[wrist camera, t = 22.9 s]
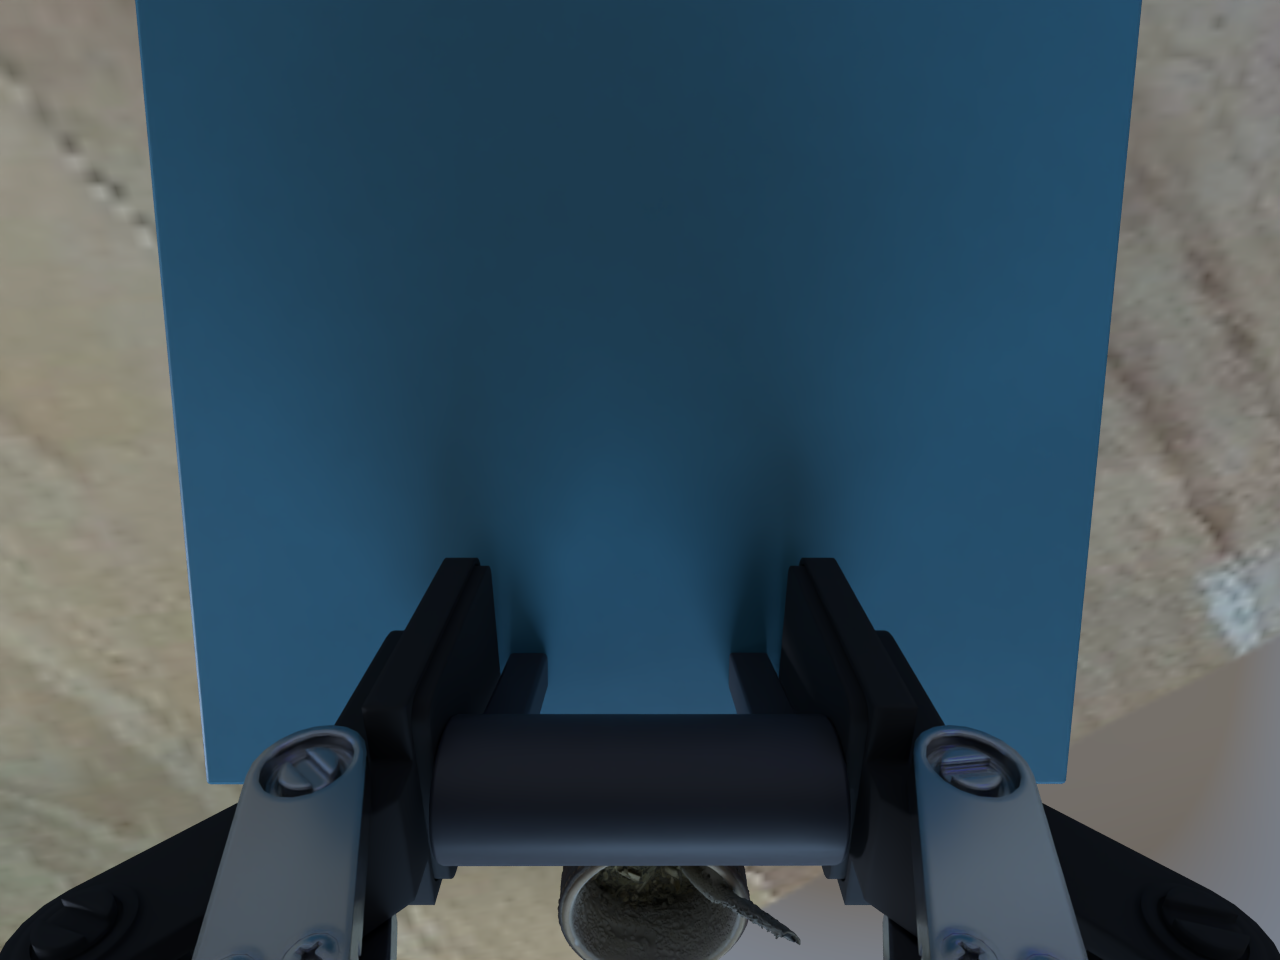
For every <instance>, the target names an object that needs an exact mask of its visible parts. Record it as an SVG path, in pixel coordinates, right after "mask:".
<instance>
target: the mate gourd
mask: <svg viewBox="0 0 1280 960" xmlns="http://www.w3.org/2000/svg"><path fill="white" fill-rule="evenodd" d="M560 890H561V893H560V899H559V902H558V903H559V906H558V912H559V913H558V918H559V924H560V926H561V930H562V932H563V935H564V936H565V939H566V940H567V942H568V944H569V946H571V947H572V949H573V950H574V951H575V952H576V953H577V954H578V955H579V956H580V957H581V958H582V959H583V960H718V959H720V958H721V957H722V956H723V955H725V954H726V953H727V952H728V951H729V950H730V949H731V948H732V947H733V946H734V945H735V943H736V942H737V941H738V940H739V938H740V937H741V935H742V933H743V932H744V930H745V928H746V926H747V923H748V919H749V920H750V921H751V922H752V923H755V924H758V925H759V926H761V928H763V927H764V928H765V929H766V930H768V931H767V932H769V931H771V933H772V934H774V936H776V939H777V938H778V937H784V938H786V939H787V940H789V941H792V942H796V943H797V944H799V945H800V939H799V938H798V936H797V935H796V934H795V933H794V932H793V931H791V930H790V929H789V928H788V927H786V926H785V925H783V924H782V923H780V922H779V921H778V920H776V919H775V918H773V917H772V916H771V915H769V914H768V913H766V912H764V911H763V910H761V909H760V908H759V907H758V906H757V905H755V904H753V902H752V901H750V898H749V896H750V894H749V890H748V887H747V880H746V874H745V868H744V866H563V872H562V878H561V889H560Z"/></svg>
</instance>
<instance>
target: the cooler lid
mask: <svg viewBox="0 0 1280 960" xmlns="http://www.w3.org/2000/svg"><path fill="white" fill-rule="evenodd" d="M135 3H136V14H137V25H138V36H139V46H140V57H141V68H142V79H143V90H144V101H145V112H146V123H147V134H148V144H149V155H150V166H151V177H152V188H153V199H154V210H155V221H156V232H157V242H158V253H159V264H160V275H161V286H162V297H163V308H164V319H165V330H166V340H167V351H168V362H169V373H170V384H171V395H172V406H173V417H174V428H175V438H176V449H177V460H178V471H179V482H180V493H181V504H182V515H183V526H184V536H185V547H186V558H187V569H188V580H189V591H190V602H191V613H192V624H193V634H194V645H195V656H196V667H197V678H198V689H199V700H200V711H201V722H202V732H203V743H204V754H205V765H206V776H207V782H208V783H209V784H244V781H245V777H246V775H247V773H248V771H249V769H250V767H251V765H252V763H253V762H254V761H255V760H256V758H257V757H258V756H259V755H260V754H261V753H262V752H263V751H264V750H265V749H267V748H268V747H269V746H271V745H272V744H274V743H275V742H277V741H278V740H279V739H282V738H284V737H286V736H288V735H290V734H292V733H294V732H297V731H300V730H304V729H307V728H311V727H314V726H325V725H335V723H336V721H337V719H338V718H339V716H340V714H341V713H342V711H343V709H344V708H345V706H346V704H347V703H348V701H349V699H350V697H351V696H352V694H353V692H354V691H355V689H356V687H357V686H358V684H359V682H360V681H361V679H362V677H363V675H364V674H365V672H366V670H367V669H368V667H369V665H370V664H371V662H372V660H373V659H374V657H375V655H376V653H377V652H378V650H379V648H380V647H381V645H382V643H383V642H384V640H385V638H386V637H387V635H388V634H389V633H390V632H391V631H394V630H405V628H406V626H407V625H408V623H409V621H410V619H411V617H412V616H413V614H414V612H415V610H416V608H417V607H418V605H419V603H420V601H421V599H422V598H423V596H424V594H425V592H426V591H427V589H428V587H429V585H430V583H431V582H432V580H433V578H434V576H435V574H436V573H437V571H438V569H439V567H440V565H441V564H442V562H443V560H444V559H445V558H478V559H479V561H480V565H481V566H490V569H491V574H492V585H493V596H494V607H495V619H496V630H497V642H498V653H499V664H500V678H499V680H498V682H497V684H496V687H495V689H494V691H493V693H492V695H491V698H490V700H489V702H488V704H487V706H486V709H485V711H484V713H483V714H457V715H454V716H453V717H451V718H450V719H449V721H448V722H447V724H446V726H445V728H444V731H443V733H442V736H441V739H440V742H439V745H438V749H437V753H436V757H435V762H434V767H433V773H432V780H431V788H430V799H429V835H430V843H431V849H432V853H433V856H434V859H435V861H436V862H437V863H438V864H440V865H442V866H809V865H838V864H840V863H842V862H843V861H844V859H845V857H846V854H847V851H848V846H849V839H850V830H851V803H850V790H849V781H848V774H847V768H846V763H845V759H844V754H843V750H842V746H841V743H840V740H839V737H838V734H837V732H836V729H835V727H834V725H833V723H832V722H831V720H830V719H829V718H828V717H827V716H825V715H822V714H796V713H795V711H794V709H793V706H792V704H791V702H790V700H789V698H788V696H787V694H786V692H785V690H784V688H783V686H782V684H781V682H780V679H779V669H780V658H781V647H782V635H783V624H784V612H785V601H786V589H787V578H788V570H789V567H790V566H799V562H800V560H801V558H835V560H836V561H837V563H838V565H839V567H840V568H841V570H842V572H843V574H844V575H845V577H846V579H847V581H848V583H849V584H850V586H851V588H852V590H853V592H854V593H855V595H856V597H857V599H858V601H859V602H860V604H861V606H862V608H863V610H864V611H865V613H866V615H867V617H868V618H869V620H870V622H871V624H872V626H873V627H874V629H875V630H885V631H888V632H889V633H890V634H891V635H892V636H893V638H894V639H895V641H896V643H897V644H898V646H899V648H900V649H901V651H902V653H903V654H904V656H905V658H906V660H907V661H908V663H909V665H910V666H911V668H912V670H913V671H914V673H915V675H916V676H917V678H918V680H919V682H920V683H921V685H922V687H923V688H924V690H925V692H926V693H927V695H928V697H929V698H930V700H931V702H932V703H933V705H934V707H935V709H936V710H937V712H938V714H939V715H940V717H941V719H942V720H943V722H944V724H945V725H955V726H966V727H969V728H973V729H976V730H980V731H983V732H986V733H988V734H990V735H992V736H994V737H996V738H998V739H1001V740H1002V741H1003V742H1005V743H1006V744H1008V745H1009V746H1011V747H1012V748H1013V749H1015V750H1016V751H1017V752H1018V753H1019V754H1020V755H1021V756H1022V757H1023V758H1024V760H1025V761H1026V762H1027V763H1028V765H1029V767H1030V769H1031V771H1032V773H1033V775H1034V777H1035V781H1036V784H1062V783H1064V782H1065V781H1066V773H1067V763H1068V753H1069V743H1070V732H1071V722H1072V712H1073V702H1074V691H1075V681H1076V671H1077V661H1078V650H1079V640H1080V630H1081V620H1082V609H1083V599H1084V589H1085V579H1086V568H1087V558H1088V548H1089V538H1090V527H1091V517H1092V507H1093V497H1094V486H1095V476H1096V466H1097V456H1098V445H1099V435H1100V425H1101V415H1102V404H1103V394H1104V384H1105V374H1106V363H1107V353H1108V343H1109V333H1110V322H1111V312H1112V302H1113V292H1114V281H1115V271H1116V261H1117V251H1118V240H1119V230H1120V220H1121V210H1122V200H1123V189H1124V179H1125V169H1126V159H1127V148H1128V138H1129V128H1130V118H1131V107H1132V97H1133V87H1134V77H1135V66H1136V56H1137V46H1138V36H1139V25H1140V15H1141V5H1142V0H135Z"/></svg>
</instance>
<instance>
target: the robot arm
mask: <svg viewBox="0 0 1280 960" xmlns="http://www.w3.org/2000/svg"><path fill="white" fill-rule="evenodd" d="M499 678H500V664H499V653H498V642H497V630H496V619H495V607H494V596H493V585H492V574H491V569H490V566H481V565H480V561H479V559H478V558H445V559H444V560H443V562H442V564H441V565H440V567H439V569H438V571H437V573H436V574H435V576H434V578H433V580H432V582H431V583H430V585H429V587H428V589H427V591H426V592H425V594H424V596H423V598H422V599H421V601H420V603H419V605H418V607H417V608H416V610H415V612H414V614H413V616H412V617H411V619H410V621H409V623H408V625H407V626H406V628H405V630H394V631H391V632H390V633H389V634H388V635H387V637H386V638H385V640H384V642H383V643H382V645H381V647H380V648H379V650H378V652H377V653H376V655H375V657H374V659H373V660H372V662H371V664H370V665H369V667H368V669H367V670H366V672H365V674H364V675H363V677H362V679H361V681H360V682H359V684H358V686H357V687H356V689H355V691H354V692H353V694H352V696H351V697H350V699H349V701H348V703H347V704H346V706H345V708H344V709H343V711H342V713H341V714H340V716H339V718H338V719H337V721H336V723H335V725H325V726H314V727H311V728H307V729H304V730H300V731H297V732H294V733H292V734H290V735H288V736H286V737H284V738H282V739H279V740H278V741H277V742H275V743H274V744H272V745H271V746H269V747H268V748H267V749H265V750H264V751H263V752H262V753H261V754H260V755H259V756H258V757H257V758H256V760H255V761H254V762H253V763H252V765H251V767H250V769H249V771H248V773H247V775H246V777H245V781H244V784H243V788H242V791H241V794H240V798H239V801H238V803H236V804H235V805H233V806H231V807H229V808H227V809H225V810H223V811H221V812H219V813H217V814H215V815H213V816H211V817H209V818H207V819H206V820H204V821H202V822H200V823H198V824H196V825H194V826H192V827H190V828H188V829H186V830H184V831H182V832H180V833H179V834H177V835H175V836H173V837H171V838H169V839H167V840H165V841H163V842H161V843H159V844H157V845H155V846H153V847H151V848H150V849H148V850H146V851H144V852H142V853H140V854H138V855H136V856H134V857H132V858H130V859H128V860H126V861H124V862H123V863H121V864H119V865H117V866H115V867H113V868H111V869H109V870H107V871H105V872H103V873H101V874H99V875H97V876H95V877H94V878H92V879H90V880H88V881H86V882H84V883H82V884H80V885H78V886H76V887H74V888H72V889H70V890H68V891H67V892H65V893H64V894H62V895H60V896H59V897H57V898H55V899H54V900H52V901H50V902H49V903H47V904H46V905H44V906H43V907H42V908H40V909H39V910H38V911H37V912H36V913H34V914H33V915H32V916H31V917H30V918H28V919H27V920H26V921H25V922H24V923H23V924H22V925H21V926H20V927H19V928H18V929H17V930H16V932H15V933H14V934H13V935H12V936H11V937H10V939H9V940H8V941H7V942H6V943H5V945H4V947H3V949H2V951H1V953H0V960H397V917H396V913H398V912H399V911H400V910H402V909H403V908H405V907H406V906H407V905H435V902H436V898H437V895H438V892H439V888H440V885H441V881H442V879H452V878H453V877H454V876H455V873H456V870H457V867H458V866H442V865H440V864H438V863H437V862H436V861H435V859H434V856H433V853H432V849H431V843H430V835H429V799H430V788H431V780H432V773H433V767H434V762H435V757H436V753H437V749H438V745H439V742H440V739H441V736H442V733H443V731H444V728H445V726H446V724H447V722H448V721H449V719H450V718H451V717H453V716H454V715H457V714H483V713H484V711H485V709H486V706H487V704H488V702H489V700H490V698H491V695H492V693H493V691H494V689H495V687H496V684H497V682H498V680H499ZM779 679H780V682H781V684H782V686H783V688H784V690H785V692H786V694H787V696H788V698H789V700H790V702H791V704H792V706H793V709H794V711H795V713H796V714H822V715H825V716H827V717H828V718H829V719H830V720H831V722H832V723H833V725H834V727H835V729H836V732H837V734H838V737H839V740H840V743H841V746H842V750H843V754H844V759H845V763H846V768H847V774H848V781H849V790H850V803H851V830H850V839H849V846H848V851H847V854H846V857H845V859H844V861H843V862H842V863H840V864H838V865H822V869H823V872H824V875H825V876H826V878H827V879H837V880H838V883H839V886H840V890H841V893H842V897H843V900H844V903H845V905H872V906H873V907H875V908H876V909H878V910H879V911H880V912H882V913H883V914H884V917H883V960H1280V954H1279V952H1278V950H1277V948H1276V946H1275V944H1274V943H1273V941H1272V940H1271V939H1270V938H1269V937H1268V936H1267V935H1266V933H1265V932H1264V931H1263V930H1262V929H1261V928H1260V926H1259V925H1258V924H1257V923H1256V922H1255V921H1254V920H1252V919H1251V918H1250V917H1249V916H1248V915H1246V914H1245V913H1244V912H1243V911H1242V910H1240V909H1239V908H1238V907H1237V906H1235V905H1234V904H1232V903H1231V902H1229V901H1228V900H1226V899H1224V898H1223V897H1221V896H1219V895H1218V894H1216V893H1214V892H1213V891H1211V890H1209V889H1207V888H1205V887H1204V886H1202V885H1200V884H1198V883H1196V882H1194V881H1192V880H1190V879H1188V878H1186V877H1184V876H1182V875H1180V874H1178V873H1176V872H1175V871H1173V870H1171V869H1169V868H1167V867H1165V866H1163V865H1161V864H1159V863H1157V862H1155V861H1153V860H1151V859H1149V858H1147V857H1146V856H1144V855H1142V854H1140V853H1138V852H1136V851H1134V850H1132V849H1130V848H1128V847H1126V846H1124V845H1122V844H1120V843H1118V842H1117V841H1115V840H1113V839H1111V838H1109V837H1107V836H1105V835H1103V834H1101V833H1099V832H1097V831H1095V830H1093V829H1091V828H1089V827H1088V826H1086V825H1084V824H1082V823H1080V822H1078V821H1076V820H1074V819H1072V818H1070V817H1068V816H1066V815H1064V814H1062V813H1060V812H1059V811H1057V810H1055V809H1053V808H1051V807H1049V806H1047V805H1045V804H1043V803H1042V801H1041V798H1040V794H1039V791H1038V788H1037V784H1036V781H1035V777H1034V775H1033V773H1032V771H1031V769H1030V767H1029V765H1028V763H1027V762H1026V761H1025V760H1024V758H1023V757H1022V756H1021V755H1020V754H1019V753H1018V752H1017V751H1016V750H1015V749H1013V748H1012V747H1011V746H1009V745H1008V744H1006V743H1005V742H1003V741H1002V740H1001V739H998V738H996V737H994V736H992V735H990V734H988V733H986V732H983V731H980V730H976V729H973V728H969V727H966V726H955V725H945V724H944V722H943V720H942V719H941V717H940V715H939V714H938V712H937V710H936V709H935V707H934V705H933V703H932V702H931V700H930V698H929V697H928V695H927V693H926V692H925V690H924V688H923V687H922V685H921V683H920V682H919V680H918V678H917V676H916V675H915V673H914V671H913V670H912V668H911V666H910V665H909V663H908V661H907V660H906V658H905V656H904V654H903V653H902V651H901V649H900V648H899V646H898V644H897V643H896V641H895V639H894V638H893V636H892V635H891V634H890V633H889V632H888V631H885V630H875V629H874V627H873V626H872V624H871V622H870V620H869V618H868V617H867V615H866V613H865V611H864V610H863V608H862V606H861V604H860V602H859V601H858V599H857V597H856V595H855V593H854V592H853V590H852V588H851V586H850V584H849V583H848V581H847V579H846V577H845V575H844V574H843V572H842V570H841V568H840V567H839V565H838V563H837V561H836V560H835V558H801V560H800V562H799V566H790V567H789V570H788V578H787V589H786V601H785V612H784V624H783V635H782V647H781V658H780V669H779Z"/></svg>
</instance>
